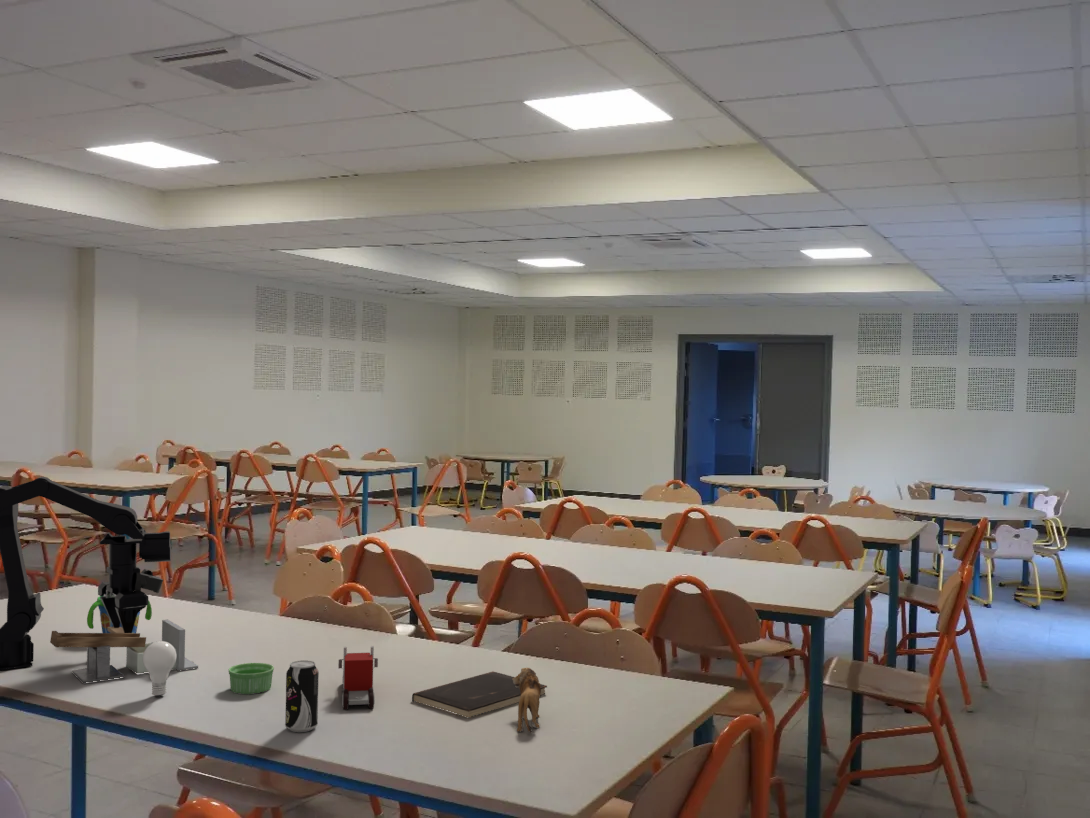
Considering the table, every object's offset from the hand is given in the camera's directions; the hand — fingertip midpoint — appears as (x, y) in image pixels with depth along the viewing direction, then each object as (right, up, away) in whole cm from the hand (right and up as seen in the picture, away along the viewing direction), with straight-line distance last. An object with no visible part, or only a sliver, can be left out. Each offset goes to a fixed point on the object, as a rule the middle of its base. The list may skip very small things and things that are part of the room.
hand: (122, 631), depth 228 cm
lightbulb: (+18, -7, -27) cm, 33 cm away
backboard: (+14, -7, -2) cm, 15 cm away
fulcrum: (0, -6, -13) cm, 14 cm away
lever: (-4, 0, -8) cm, 9 cm away
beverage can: (+51, -8, -44) cm, 68 cm away
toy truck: (+58, -8, -23) cm, 63 cm away
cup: (+9, -7, -6) cm, 13 cm away
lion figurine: (+92, -9, -38) cm, 100 cm away
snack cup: (-9, -6, +20) cm, 23 cm away
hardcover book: (+82, -9, -23) cm, 86 cm away
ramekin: (+35, -8, -20) cm, 41 cm away
